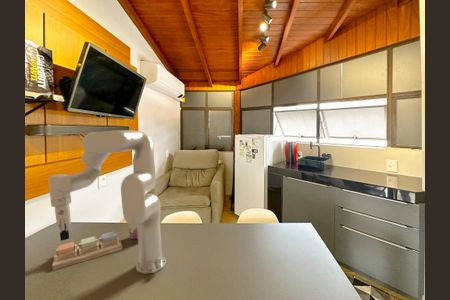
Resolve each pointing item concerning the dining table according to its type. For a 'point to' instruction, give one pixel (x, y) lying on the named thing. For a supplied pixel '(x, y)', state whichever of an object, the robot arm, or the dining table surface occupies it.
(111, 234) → the slate button
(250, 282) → the dining table surface
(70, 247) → the terracotta button
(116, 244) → the button panel
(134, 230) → the candy bar box
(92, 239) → the sage button
